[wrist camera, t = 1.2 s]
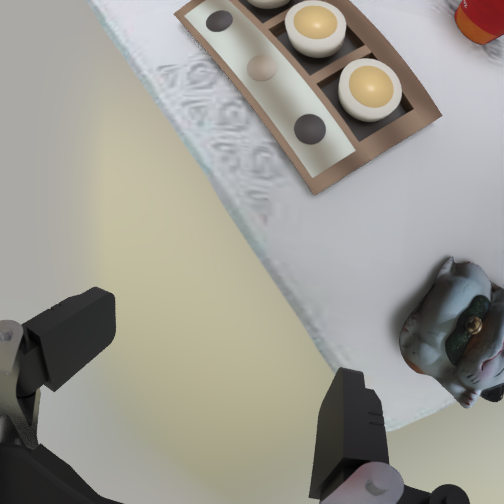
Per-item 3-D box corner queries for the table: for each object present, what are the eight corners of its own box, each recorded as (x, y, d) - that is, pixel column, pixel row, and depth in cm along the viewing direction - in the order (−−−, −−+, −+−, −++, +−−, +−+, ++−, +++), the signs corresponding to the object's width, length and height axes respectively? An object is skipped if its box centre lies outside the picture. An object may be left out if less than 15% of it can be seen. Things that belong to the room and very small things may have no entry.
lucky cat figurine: (463, 233, 27) (560, 282, 15) (476, 290, 33) (546, 337, 20) (379, 331, 28) (467, 418, 16) (408, 370, 33) (471, 436, 21)
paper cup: (478, 3, 18) (521, -44, 5) (505, 51, 19) (563, 17, 6) (435, 2, 20) (473, -57, 7) (464, 53, 21) (521, 8, 8)
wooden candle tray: (286, -39, 23) (283, -54, 20) (432, 120, 25) (443, 115, 22) (183, 23, 28) (172, 13, 25) (315, 193, 30) (314, 195, 27)
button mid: (320, 6, 22) (320, -9, 19) (355, 42, 22) (358, 29, 19) (277, 30, 24) (272, 16, 21) (311, 67, 24) (310, 55, 21)
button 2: (370, 60, 23) (375, 48, 20) (404, 105, 23) (414, 98, 20) (326, 85, 24) (326, 75, 22) (360, 132, 25) (365, 127, 22)
